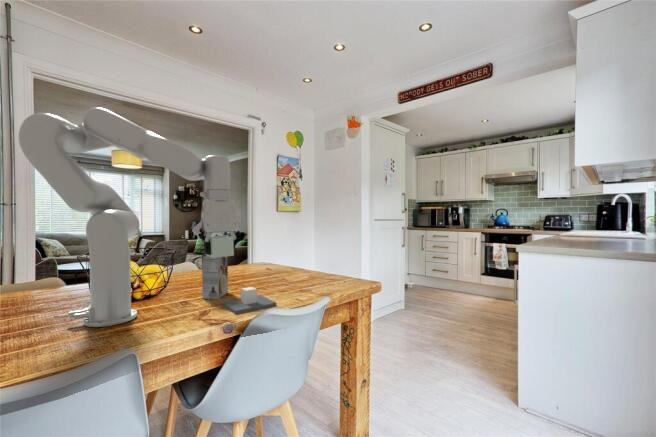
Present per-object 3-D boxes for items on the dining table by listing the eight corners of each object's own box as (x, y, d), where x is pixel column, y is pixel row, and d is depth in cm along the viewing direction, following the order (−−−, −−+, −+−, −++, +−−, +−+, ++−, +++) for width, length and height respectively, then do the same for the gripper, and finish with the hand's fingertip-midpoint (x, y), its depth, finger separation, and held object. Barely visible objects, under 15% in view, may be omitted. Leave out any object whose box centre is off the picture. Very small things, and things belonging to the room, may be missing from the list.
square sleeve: (212, 257, 91) (212, 237, 90) (206, 255, 96) (206, 236, 96) (233, 255, 94) (233, 236, 94) (227, 253, 100) (226, 235, 99)
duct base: (235, 314, 92) (235, 296, 92) (221, 304, 102) (221, 288, 102) (276, 305, 101) (276, 289, 101) (260, 297, 111) (260, 282, 110)
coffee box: (212, 292, 118) (211, 251, 118) (228, 292, 118) (228, 251, 118) (201, 298, 109) (201, 254, 109) (219, 299, 109) (219, 254, 109)
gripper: (191, 195, 87) (193, 257, 87) (249, 195, 97) (251, 251, 97) (185, 196, 92) (187, 255, 93) (240, 196, 103) (242, 249, 103)
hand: (220, 252), depth 95 cm, fingers closed on square sleeve, 6 cm apart
